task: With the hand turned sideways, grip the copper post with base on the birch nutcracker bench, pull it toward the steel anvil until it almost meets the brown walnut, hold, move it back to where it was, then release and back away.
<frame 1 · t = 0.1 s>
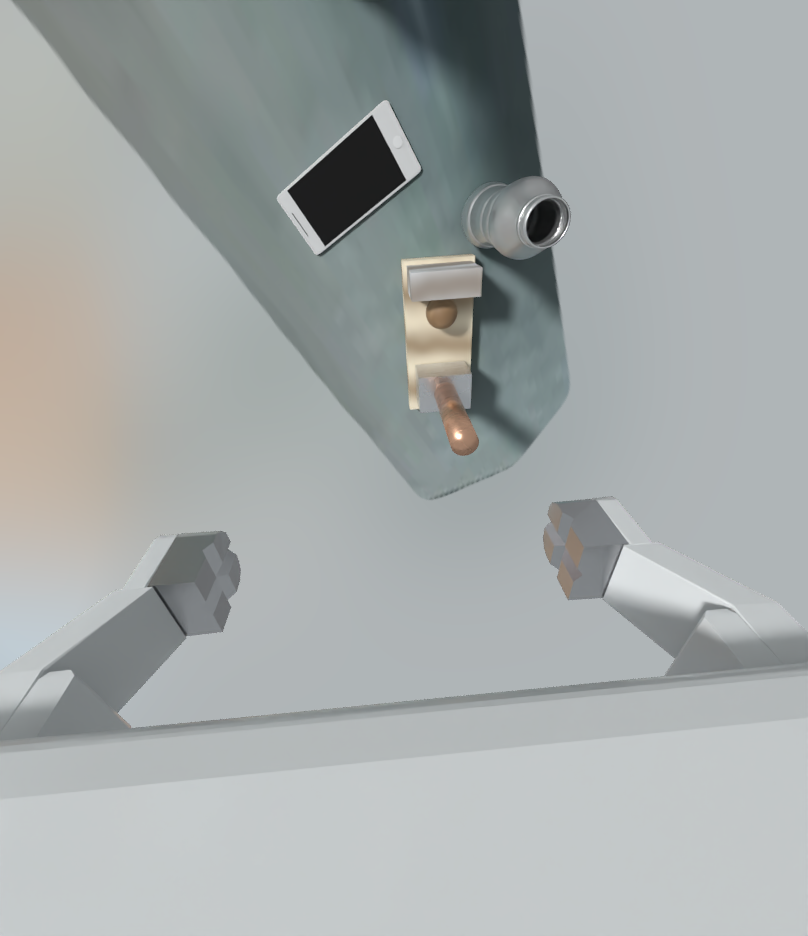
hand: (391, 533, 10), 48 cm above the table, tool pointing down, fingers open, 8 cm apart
copper post with base: (450, 406, 49), point 11 cm above the table, slide at 0.0 cm
nutcracker bench: (437, 336, 55), on the table
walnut: (439, 308, 51), point 2 cm above the table, touching nutcracker bench
smartphone: (348, 184, 45), on the table
plastic bottle: (484, 215, 47), on the table
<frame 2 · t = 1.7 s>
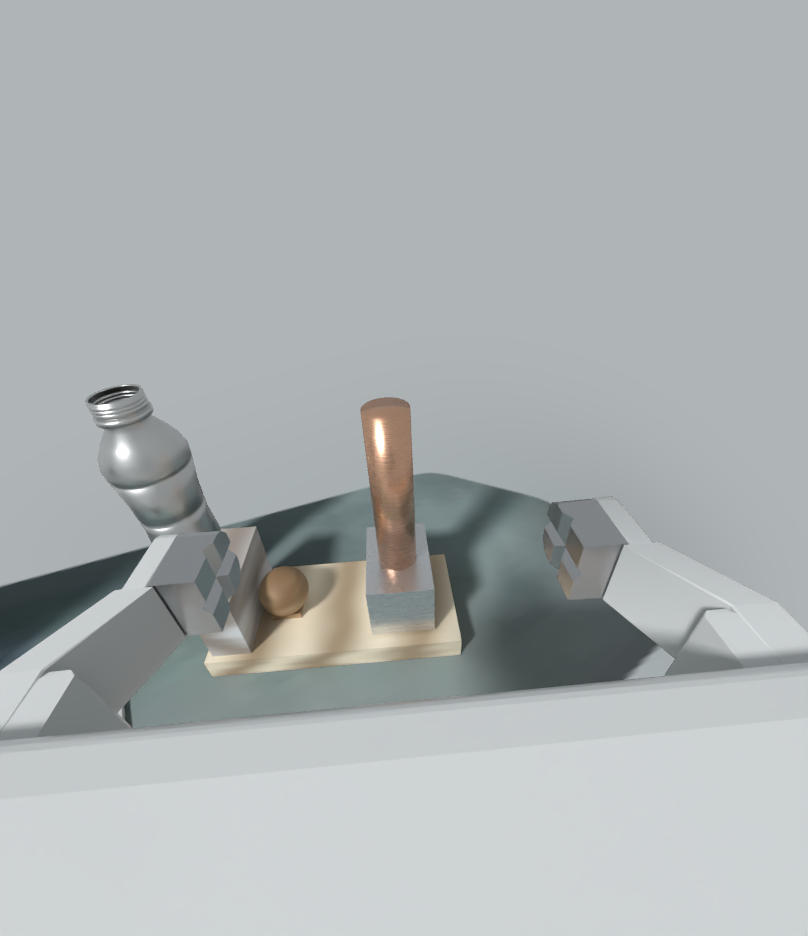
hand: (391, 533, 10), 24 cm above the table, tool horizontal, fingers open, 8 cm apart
copper post with base: (394, 518, 29), point 11 cm above the table, slide at 0.0 cm
nutcracker bench: (341, 616, 35), on the table
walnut: (289, 606, 34), point 2 cm above the table, touching nutcracker bench
plastic bottle: (208, 577, 40), on the table
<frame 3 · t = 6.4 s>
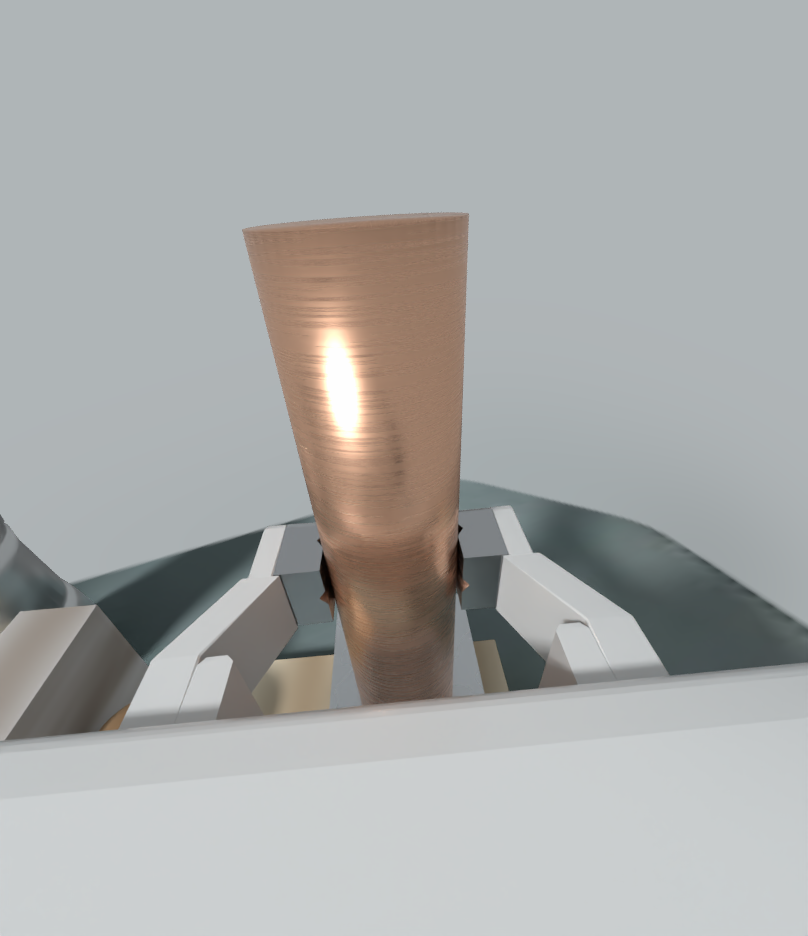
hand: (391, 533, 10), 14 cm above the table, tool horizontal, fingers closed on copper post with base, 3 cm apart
copper post with base: (398, 616, 10), point 11 cm above the table, slide at 0.0 cm, touching gripper
nutcracker bench: (289, 783, 17), on the table
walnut: (173, 776, 16), point 2 cm above the table, touching nutcracker bench
plastic bottle: (56, 676, 21), on the table
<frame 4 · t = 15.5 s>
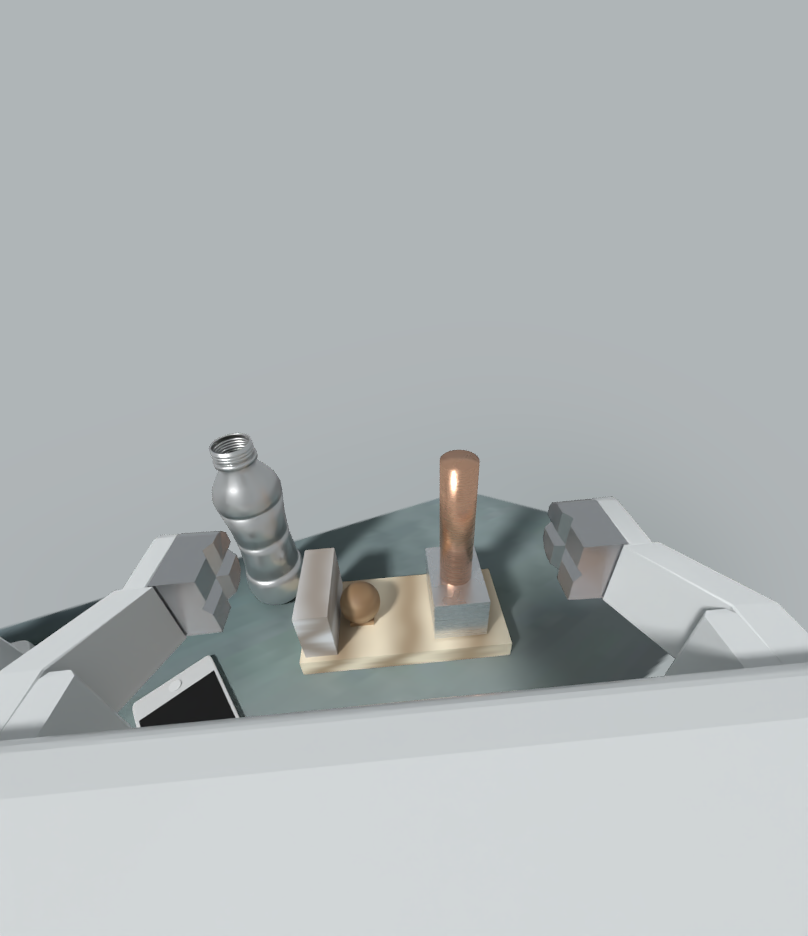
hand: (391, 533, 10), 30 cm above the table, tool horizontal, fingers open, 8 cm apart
copper post with base: (456, 543, 35), point 11 cm above the table, slide at 0.2 cm
nutcracker bench: (404, 622, 41), on the table
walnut: (362, 615, 40), point 2 cm above the table, touching nutcracker bench
smartphone: (201, 752, 33), on the table
plastic bottle: (283, 589, 46), on the table
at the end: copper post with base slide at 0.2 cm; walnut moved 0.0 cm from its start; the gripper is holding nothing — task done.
